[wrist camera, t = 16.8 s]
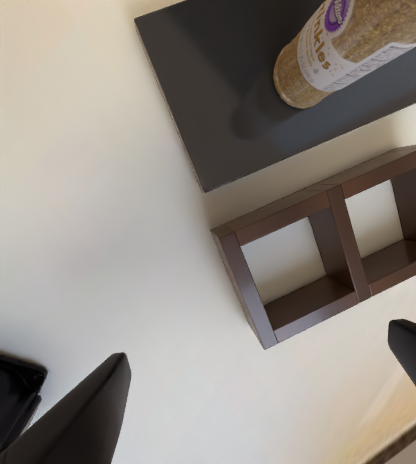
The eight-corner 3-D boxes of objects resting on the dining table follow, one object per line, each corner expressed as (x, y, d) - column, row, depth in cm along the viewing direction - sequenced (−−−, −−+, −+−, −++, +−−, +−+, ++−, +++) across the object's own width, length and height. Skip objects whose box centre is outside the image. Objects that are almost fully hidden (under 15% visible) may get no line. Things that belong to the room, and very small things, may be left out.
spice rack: (249, 325, 22) (264, 350, 19) (209, 230, 20) (218, 238, 17) (417, 244, 24) (459, 254, 20) (396, 147, 22) (439, 140, 18)
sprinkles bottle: (265, 49, 17) (567, -378, 4) (323, 37, 18) (755, -380, 5) (277, 117, 18) (556, -62, 5) (333, 103, 19) (713, -91, 6)
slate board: (202, 193, 20) (204, 193, 18) (135, 29, 17) (133, 18, 16) (414, 102, 21) (429, 97, 20) (384, -60, 18) (398, -76, 17)
